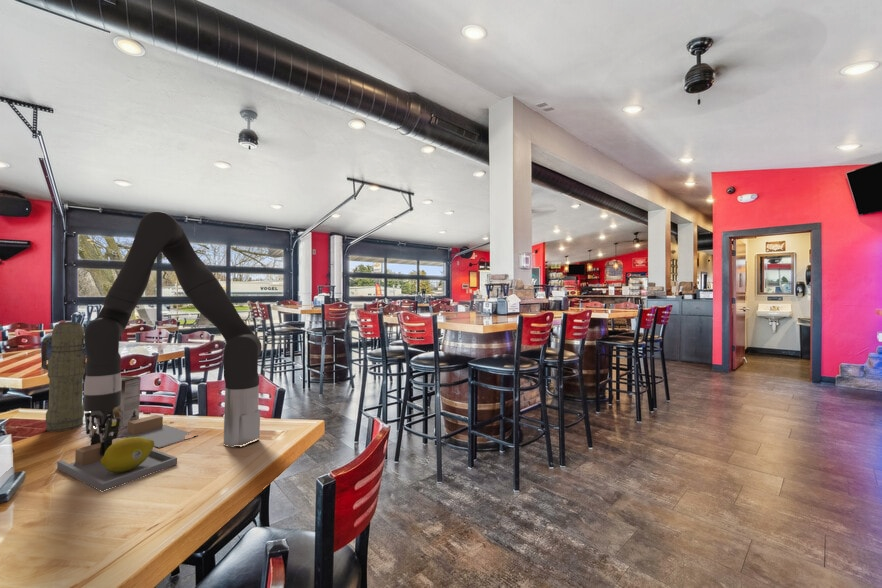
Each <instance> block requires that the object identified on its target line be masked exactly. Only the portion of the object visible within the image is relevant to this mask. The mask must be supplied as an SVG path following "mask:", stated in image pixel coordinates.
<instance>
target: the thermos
mask: <svg viewBox="0 0 882 588" xmlns="http://www.w3.org/2000/svg"><path fill="white" fill-rule="evenodd" d="M84 334H85V329H84V327H83V325H82V323H81V322H77V321H76V322H75V321H73V322H72V321H71V322H68V321H67V322H66V321H65V322H58V323H55V325H54V327H53V329H52V331H51V336H49V337H46V338H45V339H44V340H42V342H41V368H43V370H46V371H47V377H48V378H49V382H48V383H49V384H48V388H49V389H48V407H47V410H46V413H45V423H46V428H45V431H46V430H47V431H46V432H50V431H55V432H62V431H69V430H72V429H73V430H74V429H76V428H79V427H82V426H83V425H84V418H85V410H84V409H83V394H84V375H85V374H86V361H87V356H86V355H85V352H84V348H83V347H84V346H85V341H84ZM49 341H51V343H50V344H51V345H50V347H51V351H50V356H49V358H48V357H47V356H48V342H49Z"/></svg>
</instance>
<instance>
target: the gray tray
mask: <svg viewBox="0 0 882 588" xmlns="http://www.w3.org/2000/svg"><path fill="white" fill-rule="evenodd" d="M122 439H123V438H121V437H117V438H116V439H113V440H112V444H113V443H115V442H117V441H119V440H122ZM74 454H75V455H74V456H75V459H74V461H73V462H70V463H68V462H66V461H64V460H62V459H61V460H57V463H56V464H57V466H56V468H57V470H60V471H62V472H63V473H65V474H67V475H69V476H70V477H73V478H75V479H77V480H78V481H79V482H80V481H81V482H82V483H84V482H85V483H84V484H86V483H87V484H86V485H88V484H89V485H88V486H90V485H91V486H93V487H95V488H97V489H99V490H101V491H104V490H106V489H109V488H112V487H115V486H117V487H120V486H123V485H124V483H126V484H128V483H131V482H133V481H132V480H134V481H136V479H137V480H139V479H141V478H140V477H142V478H144V477H143V476H145V475H147V476H149V475H148V474H150V473H153V472H156V471H158V472H160V471H159V470H161V471H163V470H162V469H164V470H166V469H169V468H171V467H170V466H172V467H174V466H173V465H175V466H176V464H177V465H178V457H176V456H173V455H171V454H168V453H165V452H162V451H160V450H158V449H154V448H153V449H152V451H151V452H150V454H149V456H148V457H147V459H146V460H145V461H144V462H143V463H141V464H140V465H139V466H137V467H136V468H134V469H132V470H129V471H126V472H121V473H113V472H110V471H108V470H106V468H105V466H104V465H103V464H101V462H100V461H101V459H102V458H103V457H104V456H101V455H100V443H97V444H93V445H91V444H90V445H87V446H83V447H80V448H75V453H74ZM168 467H169V468H168ZM165 468H166V469H165ZM156 473H157V472H156ZM153 474H154V473H153ZM150 475H151V474H150ZM145 477H146V476H145ZM138 478H139V479H138ZM130 481H131V482H130ZM127 482H128V483H127ZM122 484H123V485H122ZM119 485H120V486H119ZM91 486H90V487H91ZM93 487H92V488H93ZM95 488H94V489H95ZM115 488H116V487H115ZM97 489H96V490H97ZM112 489H113V488H112ZM99 490H98V491H99ZM109 490H110V489H109ZM101 491H100V492H101ZM104 492H105V491H104Z"/></svg>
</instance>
